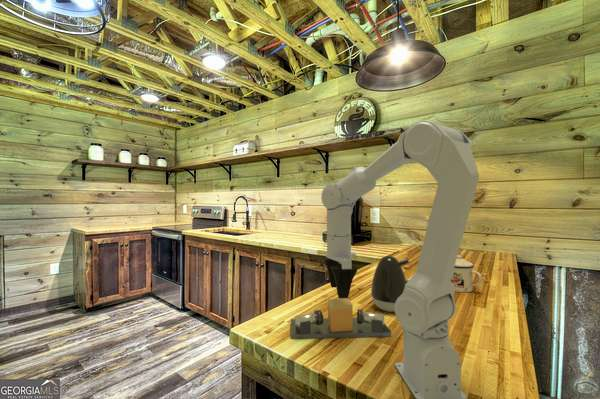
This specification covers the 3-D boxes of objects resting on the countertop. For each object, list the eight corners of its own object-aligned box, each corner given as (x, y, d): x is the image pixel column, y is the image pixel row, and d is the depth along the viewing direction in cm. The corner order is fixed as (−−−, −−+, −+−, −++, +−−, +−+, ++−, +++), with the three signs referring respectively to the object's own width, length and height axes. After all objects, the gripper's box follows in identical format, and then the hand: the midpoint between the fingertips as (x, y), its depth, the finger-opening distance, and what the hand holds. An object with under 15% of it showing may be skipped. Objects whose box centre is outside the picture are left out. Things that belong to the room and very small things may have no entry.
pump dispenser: (412, 317, 74) (412, 260, 74) (372, 314, 76) (371, 258, 76) (405, 303, 84) (405, 253, 84) (370, 300, 86) (370, 251, 86)
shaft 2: (384, 327, 66) (384, 310, 66) (383, 333, 63) (383, 315, 63) (358, 323, 68) (358, 307, 68) (357, 329, 65) (357, 312, 65)
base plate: (391, 336, 63) (391, 332, 63) (291, 338, 63) (290, 334, 63) (380, 321, 71) (380, 317, 71) (290, 323, 71) (290, 319, 71)
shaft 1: (299, 335, 62) (299, 317, 62) (294, 329, 65) (294, 311, 65) (323, 330, 64) (323, 312, 64) (317, 324, 67) (317, 308, 67)
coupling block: (352, 330, 64) (352, 304, 64) (331, 331, 64) (331, 305, 64) (347, 322, 68) (347, 298, 68) (328, 323, 68) (327, 299, 68)
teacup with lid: (438, 287, 98) (438, 254, 98) (451, 283, 103) (451, 251, 103) (475, 297, 88) (475, 261, 88) (488, 292, 93) (487, 257, 93)
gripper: (365, 239, 59) (365, 302, 59) (347, 231, 74) (347, 282, 74) (332, 239, 58) (333, 304, 59) (320, 231, 73) (321, 283, 73)
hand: (339, 292), depth 66 cm, fingers open, 7 cm apart
